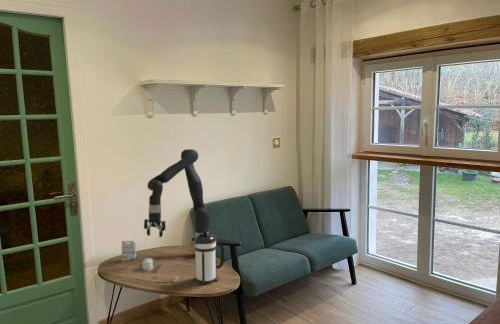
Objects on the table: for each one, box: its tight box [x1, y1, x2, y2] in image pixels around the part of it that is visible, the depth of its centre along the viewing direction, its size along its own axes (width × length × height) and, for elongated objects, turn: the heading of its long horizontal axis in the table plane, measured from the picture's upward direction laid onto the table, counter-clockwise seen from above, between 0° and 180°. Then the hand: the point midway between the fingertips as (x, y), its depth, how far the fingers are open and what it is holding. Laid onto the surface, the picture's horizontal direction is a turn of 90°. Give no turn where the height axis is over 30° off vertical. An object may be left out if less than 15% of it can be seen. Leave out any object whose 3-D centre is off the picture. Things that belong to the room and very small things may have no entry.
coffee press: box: [193, 231, 225, 286], centre depth 220 cm, size 17×16×30 cm
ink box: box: [121, 240, 137, 262], centre depth 250 cm, size 8×5×15 cm, turn 96°
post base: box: [133, 263, 162, 274], centre depth 234 cm, size 14×14×6 cm
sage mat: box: [154, 274, 180, 284], centre depth 221 cm, size 12×10×1 cm
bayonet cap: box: [142, 257, 154, 271], centre depth 234 cm, size 6×6×6 cm
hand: (154, 236), depth 238 cm, fingers open, 8 cm apart
